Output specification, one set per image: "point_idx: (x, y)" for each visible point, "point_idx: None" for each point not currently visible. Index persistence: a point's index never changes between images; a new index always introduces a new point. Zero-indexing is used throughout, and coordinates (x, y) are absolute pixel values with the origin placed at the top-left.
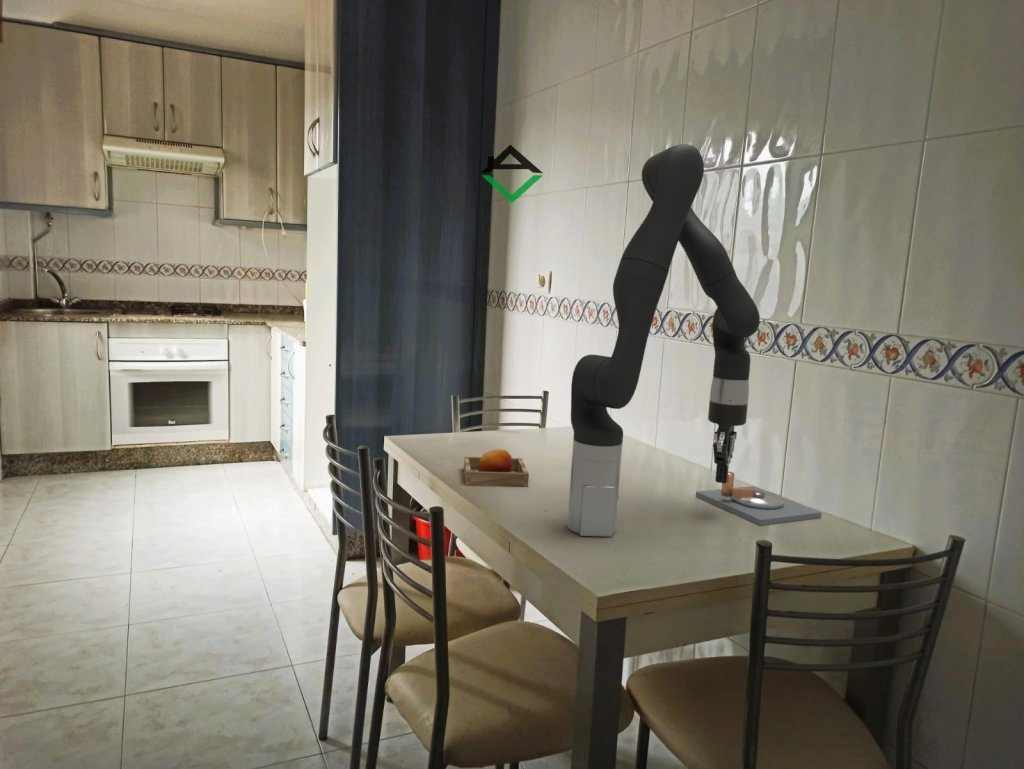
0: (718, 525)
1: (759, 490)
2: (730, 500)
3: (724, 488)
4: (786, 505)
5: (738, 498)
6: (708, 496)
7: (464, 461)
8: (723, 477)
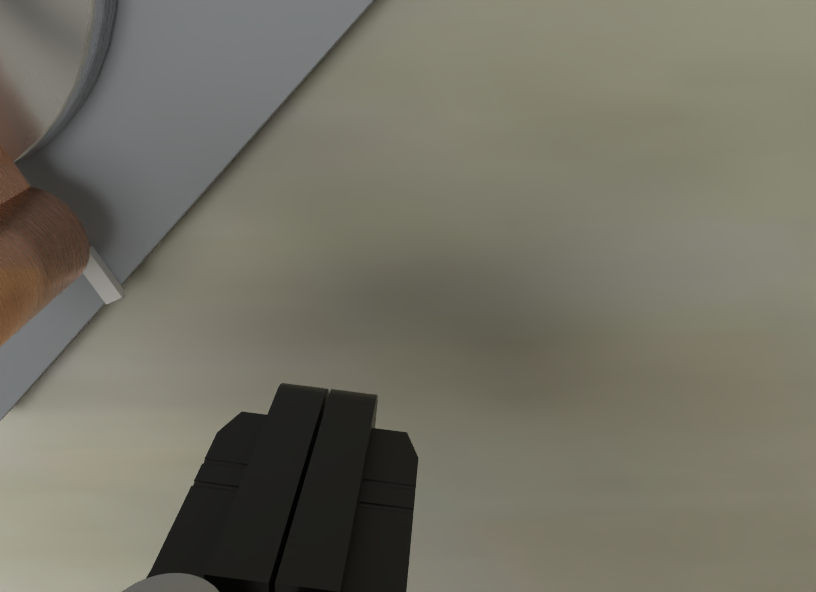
0: (666, 231)
1: None
2: None
3: (46, 298)
4: None
5: (50, 121)
6: (44, 350)
7: None
8: (415, 480)
